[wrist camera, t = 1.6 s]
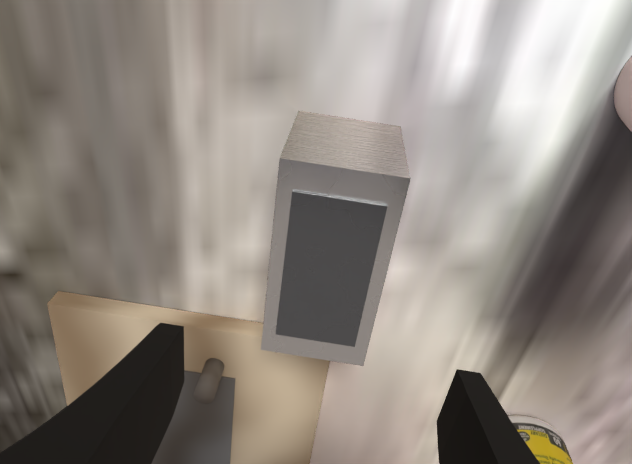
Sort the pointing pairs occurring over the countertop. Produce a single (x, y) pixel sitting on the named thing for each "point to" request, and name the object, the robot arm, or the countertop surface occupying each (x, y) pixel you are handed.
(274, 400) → the beige peg board
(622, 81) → the smoothie
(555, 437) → the supplement bottle
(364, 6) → the countertop surface
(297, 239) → the grey box
